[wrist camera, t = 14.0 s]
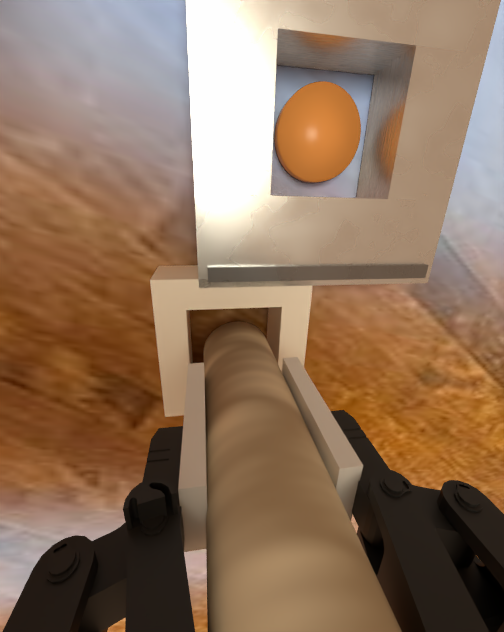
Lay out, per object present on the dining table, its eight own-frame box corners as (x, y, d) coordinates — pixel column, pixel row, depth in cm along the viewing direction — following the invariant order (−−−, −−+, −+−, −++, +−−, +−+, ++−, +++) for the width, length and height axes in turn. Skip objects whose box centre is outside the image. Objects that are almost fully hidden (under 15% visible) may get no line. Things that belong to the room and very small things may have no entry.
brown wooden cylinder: (204, 381, 18) (212, 921, 5) (201, 322, 17) (201, 863, 3) (267, 377, 19) (439, 838, 5) (270, 319, 17) (522, 758, 4)
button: (272, 181, 18) (275, 180, 17) (276, 83, 16) (281, 77, 15) (346, 183, 18) (353, 183, 17) (358, 91, 16) (367, 85, 16)
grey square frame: (199, 272, 19) (198, 289, 16) (183, -79, 13) (177, -179, 10) (393, 270, 21) (430, 284, 18) (456, -31, 15) (531, -97, 12)
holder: (170, 384, 22) (165, 417, 19) (158, 265, 18) (149, 280, 15) (286, 375, 23) (299, 404, 20) (295, 264, 20) (313, 277, 17)
